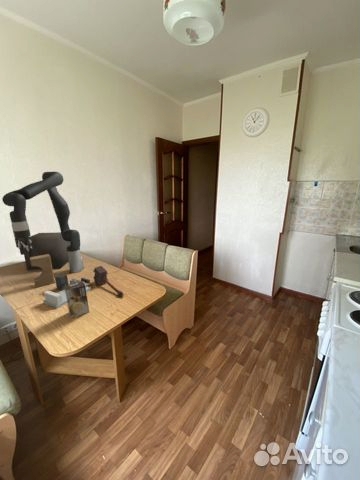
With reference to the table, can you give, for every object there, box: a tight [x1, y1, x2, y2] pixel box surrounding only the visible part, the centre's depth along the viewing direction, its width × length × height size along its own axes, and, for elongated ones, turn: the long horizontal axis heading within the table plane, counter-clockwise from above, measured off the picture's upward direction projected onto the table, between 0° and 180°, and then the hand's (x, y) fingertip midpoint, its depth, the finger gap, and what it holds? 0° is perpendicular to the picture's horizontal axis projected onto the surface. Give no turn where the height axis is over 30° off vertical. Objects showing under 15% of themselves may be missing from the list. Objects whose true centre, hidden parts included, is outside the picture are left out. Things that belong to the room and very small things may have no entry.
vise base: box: [42, 285, 91, 309], centre depth 122 cm, size 23×12×6 cm, turn 156°
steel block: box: [54, 273, 70, 292], centre depth 131 cm, size 5×5×9 cm
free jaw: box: [69, 277, 91, 287], centre depth 130 cm, size 8×11×5 cm
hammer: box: [92, 265, 125, 298], centre depth 132 cm, size 7×33×10 cm, turn 47°
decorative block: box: [29, 254, 56, 289], centre depth 136 cm, size 11×6×20 cm, turn 130°
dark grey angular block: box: [23, 231, 70, 271], centre depth 171 cm, size 25×25×25 cm
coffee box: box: [64, 280, 90, 319], centre depth 105 cm, size 9×6×16 cm
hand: (27, 255), depth 120 cm, fingers open, 8 cm apart
